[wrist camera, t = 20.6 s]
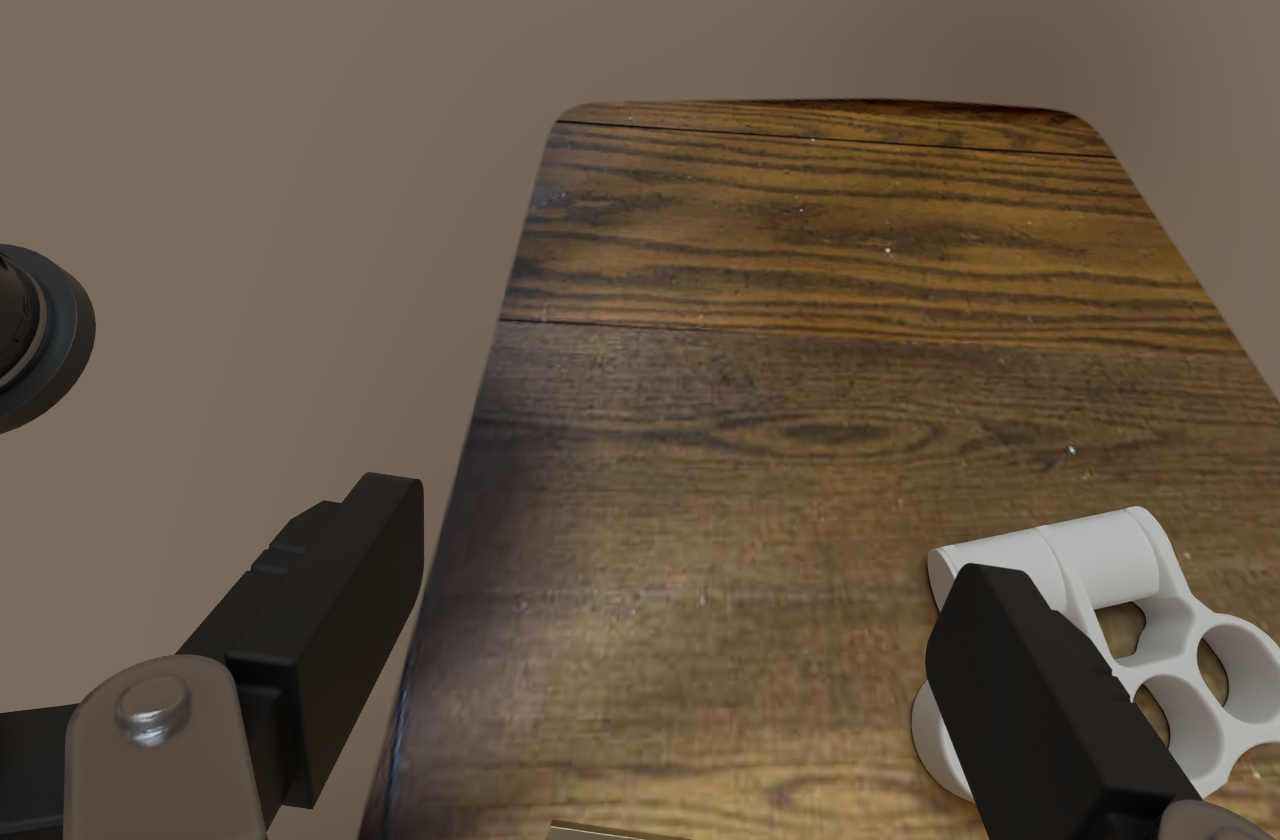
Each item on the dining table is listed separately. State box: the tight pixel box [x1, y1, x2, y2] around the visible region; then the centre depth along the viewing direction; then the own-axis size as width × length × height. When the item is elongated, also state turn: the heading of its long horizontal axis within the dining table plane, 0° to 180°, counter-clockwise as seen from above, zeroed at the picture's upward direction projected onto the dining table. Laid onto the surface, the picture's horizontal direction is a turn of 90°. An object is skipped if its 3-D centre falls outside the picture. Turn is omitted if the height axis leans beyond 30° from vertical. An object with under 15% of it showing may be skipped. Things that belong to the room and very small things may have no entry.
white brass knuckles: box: [912, 506, 1280, 804], centre depth 35 cm, size 3×18×15 cm
